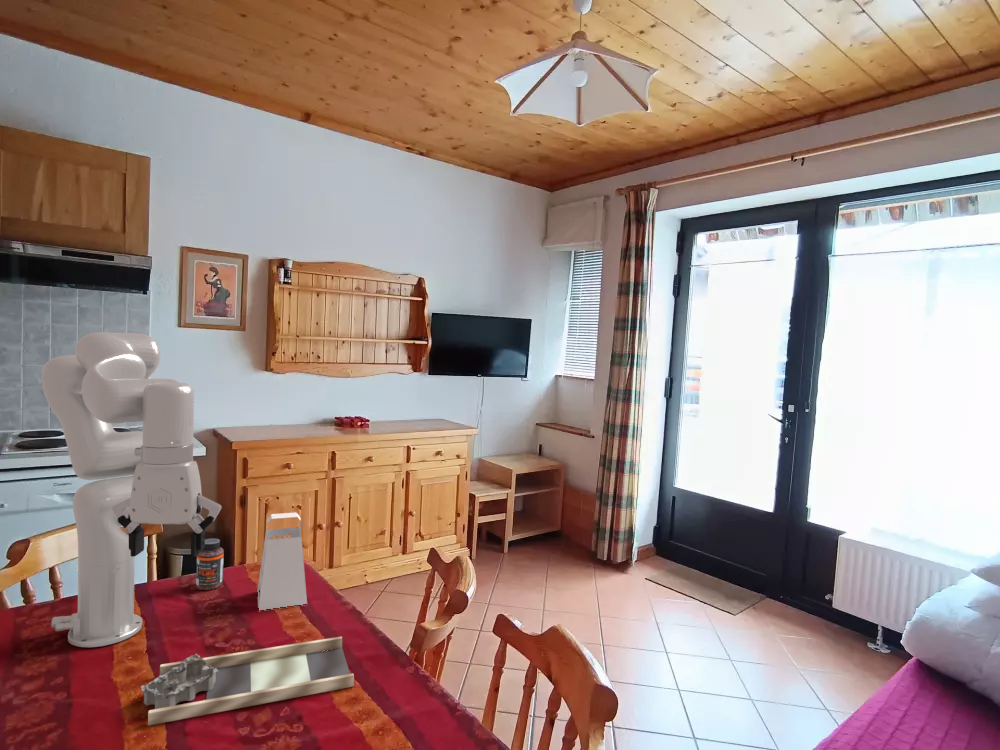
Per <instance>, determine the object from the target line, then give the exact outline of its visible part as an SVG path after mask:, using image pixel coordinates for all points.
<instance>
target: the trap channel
mask: <svg viewBox="0 0 1000 750" xmlns="http://www.w3.org/2000/svg"><path fill="white" fill-rule="evenodd" d="M331 649H332V650H331ZM335 649H336V650H335ZM323 650H325V651H323ZM327 650H328V651H327ZM318 651H319V652H318ZM322 651H323V652H322ZM326 651H327V652H326ZM202 658H203V659H204V660H205V662H206V664H207V666H208V667H209V666H210V665H212V667H213V668H214V669H215V668H216V669H217V670H218V671H219V672H216V681H215V683H214V687H213V689H212V690H210V691H206V698H205V699H203V700H199V701H193V702H187V703H183V704H176V705H175V706H170V707H165V708H159V709H155V708H154V709H150V710H148V713H147V717H148V718H147V726H153V725H159V724H164V723H168V722H175V721H181V720H184V719H189V718H194V717H200V716H206V715H211V714H215V713H221V712H226V711H231V710H236V709H241V708H248V707H252V706H258V705H263V704H268V703H274V702H279V701H285V700H290V699H294V698H300V697H305V696H311V695H315V694H320V693H321V694H322V693H326V692H333V691H337V690H343V689H348V688H351V687H354V685H355V683H354V682H355V675H354V673H351V672H350V670H349V666H348V663H347V659H346V657H345V653H344V650H343V636H337V637H329V638H323V639H317V640H311V641H310V640H309V641H303V642H296V643H291V644H284V645H279V646H278V645H277V646H272V647H265V648H258V649H253V650H252V649H251V650H246V651H240V652H239V651H238V652H233V653H228V654H220V655H214V656H208V657H202ZM180 664H181V661H176V662H169V663H163V664H160V666H159V676H160V675H164V674H165V673H167V672H169V671H170V670H171V669H172V668H175V667H177V666H179V665H180Z"/></svg>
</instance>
